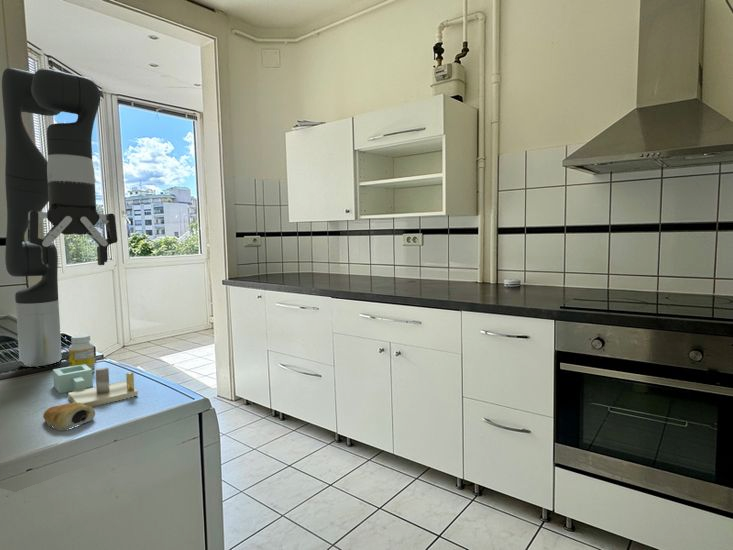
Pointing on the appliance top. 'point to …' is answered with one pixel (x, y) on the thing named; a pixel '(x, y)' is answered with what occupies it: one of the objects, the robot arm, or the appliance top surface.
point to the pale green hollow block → (72, 378)
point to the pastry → (68, 415)
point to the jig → (102, 391)
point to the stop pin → (130, 381)
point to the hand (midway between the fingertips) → (76, 266)
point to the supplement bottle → (81, 351)
